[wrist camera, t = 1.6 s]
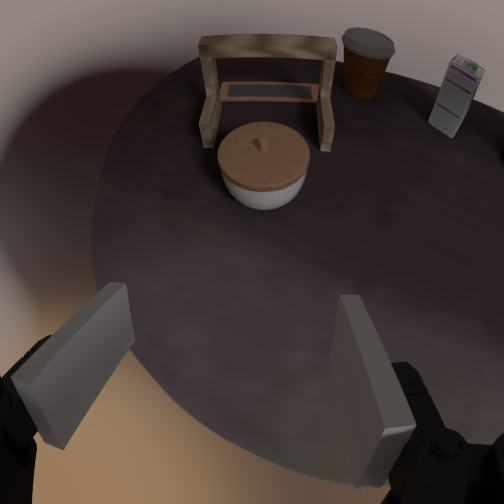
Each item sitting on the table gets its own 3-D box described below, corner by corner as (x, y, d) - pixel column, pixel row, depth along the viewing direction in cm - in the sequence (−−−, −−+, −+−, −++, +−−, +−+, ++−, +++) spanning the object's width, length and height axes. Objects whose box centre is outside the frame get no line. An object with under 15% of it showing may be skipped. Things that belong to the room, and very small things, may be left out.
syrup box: (452, 139, 48) (481, 78, 35) (425, 122, 50) (450, 59, 37) (459, 127, 49) (486, 69, 36) (435, 110, 51) (457, 52, 38)
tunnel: (324, 110, 51) (334, 38, 38) (330, 151, 46) (344, 71, 33) (213, 108, 52) (201, 36, 39) (203, 148, 47) (187, 69, 34)
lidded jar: (312, 219, 41) (321, 171, 33) (227, 229, 41) (218, 182, 32) (295, 158, 46) (299, 108, 37) (221, 166, 46) (213, 116, 37)
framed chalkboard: (318, 85, 54) (318, 84, 54) (321, 103, 51) (321, 102, 51) (222, 83, 55) (222, 81, 55) (218, 101, 53) (217, 99, 52)
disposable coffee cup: (329, 75, 56) (336, 24, 45) (373, 78, 56) (384, 29, 45) (342, 103, 52) (352, 47, 41) (390, 105, 51) (405, 53, 41)
